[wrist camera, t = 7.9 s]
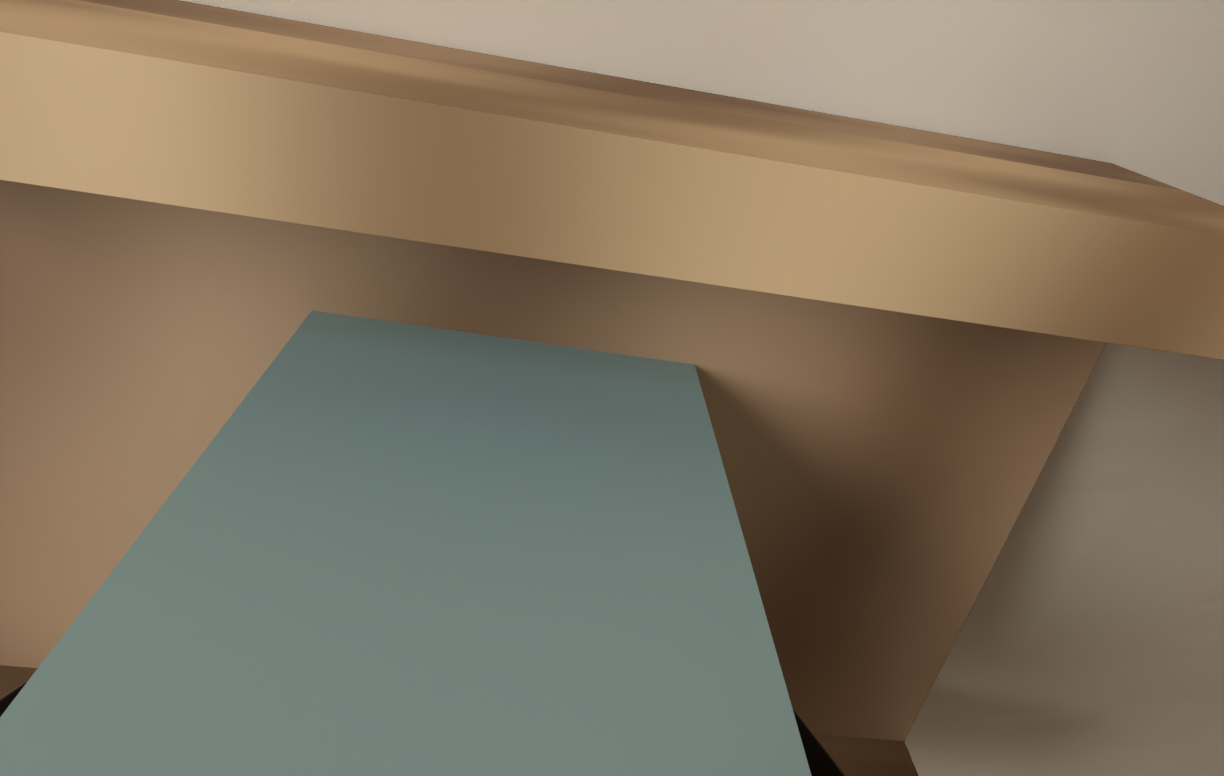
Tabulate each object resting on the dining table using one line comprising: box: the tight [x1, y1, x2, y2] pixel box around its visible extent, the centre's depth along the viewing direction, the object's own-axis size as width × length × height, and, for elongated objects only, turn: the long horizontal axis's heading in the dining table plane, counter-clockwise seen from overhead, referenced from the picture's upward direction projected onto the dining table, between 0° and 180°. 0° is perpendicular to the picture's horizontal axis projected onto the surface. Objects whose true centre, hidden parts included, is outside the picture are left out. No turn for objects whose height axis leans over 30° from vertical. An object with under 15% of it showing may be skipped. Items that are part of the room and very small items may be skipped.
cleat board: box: [0, 0, 1224, 776], centre depth 10 cm, size 16×11×7 cm
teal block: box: [0, 310, 812, 776], centre depth 8 cm, size 5×5×8 cm
